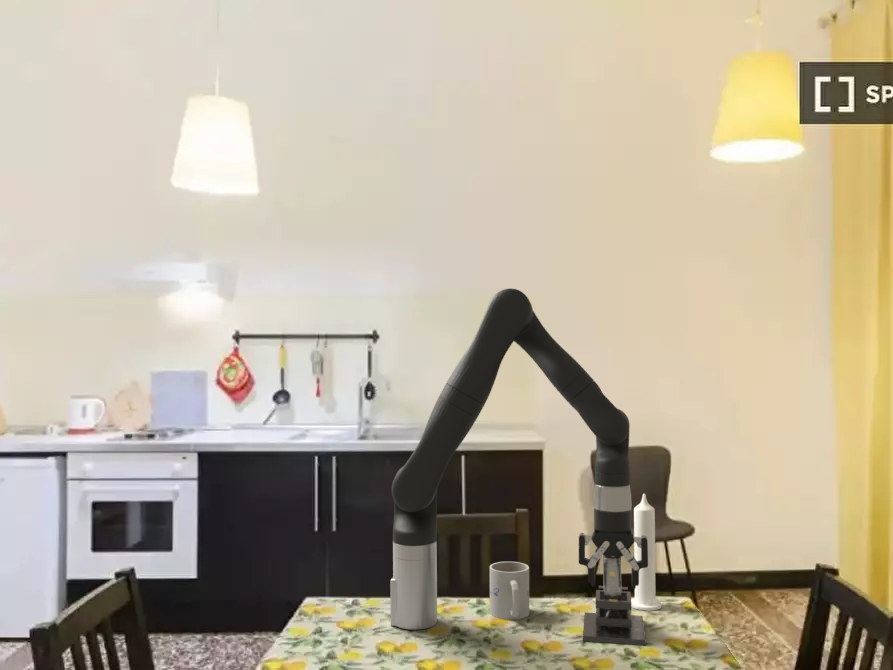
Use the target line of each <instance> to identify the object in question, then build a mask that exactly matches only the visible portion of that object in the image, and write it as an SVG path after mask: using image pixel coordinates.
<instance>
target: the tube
mask: <svg viewBox="0 0 893 670" xmlns="http://www.w3.org/2000/svg"><path fill="white" fill-rule="evenodd" d="M621 559H622V557H615V556H611V557H605V556H604V555H602V570H603V571H602V572H603V577H602V578H603V586H604V600H609V599H617V600H618V601H622V587H623V585H622V560H621ZM604 617H610V618H622V609H605V608H604ZM605 627H608V628H613V629H616V628H621V627H612V626H605Z"/></svg>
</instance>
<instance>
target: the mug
mask: <svg viewBox="0 0 893 670" xmlns="http://www.w3.org/2000/svg"><path fill="white" fill-rule="evenodd" d="M489 614H490V616H492V617H494V618H497V619H499V620H510V621H511V620H521V619H524V618H527V617H529V616H530V567H529V565H528V564H526V563H524V562H519V561H498V562H494V563H492V564H490V565H489Z"/></svg>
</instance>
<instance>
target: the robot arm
mask: <svg viewBox="0 0 893 670" xmlns="http://www.w3.org/2000/svg"><path fill="white" fill-rule="evenodd" d="M514 343H515V344H517V345H518V346H519V347H520V348H521V349H522V350H523V351H525V353H526V354H528V356H529V357H530V358H531V359H532V361H533V362H534V363H535V364H536V365H537V367H538V368H539V369H540V370H541V372H542V373H543V375H545V377H546V378H547V379H548V381H549V382H550V383H551V385H552V386H553V387H554V388H555V389H556V390H557V392H558V393H559V394H560V395H561V396H562V397H563V399H565V401H566V402H567V403H568V404H569V405H570V406H571V407H572V408H573V409H574V410H575V411H576V412H577V413H578V415H579V416H580V417H581V419H582V420H583V422H584V423H585V425H586V426H587V428H589V430H590V431H591V432H592V434H594V436H595V443H596V458H595V464H594V491H593V533H592V534H585V533H583V532H581V533H579V535H578V564H579V565H581V566H585V567H586V568H587V582H588V584H591V587H593V588H594V587H596V567H595V566H596V564H597V563H598V561H599V560H600V559H601V558H602V557H603V556H605V557H611V556H615V557H621V558H622V557H624V558H625V560H626V561H627V562H628V564H629V565H630V566H631V589H634V590H635V589H636V586H638V585H639V570H640V569H641V568H646V567H648V541H647V537H646V536H645V535H643V536H641V537H634V534H633V533H632V532H633V531H632V530H633V529H632V507H633V506H632V504H633V503H632V492H631V478H630V477H631V474H630V473H631V468H630V461H629V459H630V458H629V449H630V447H629V446H630V428H631V427H630V420H629V418H628V416H627V414H626V413H625V412H624V411H623V410H621V409H619V408H617V407H616V406H615V405H614V404H613V403H612V402H611V401H610V399H609V398H608V397H606V395H605V394H604V393H603V392H602V389H601V387H600V386H599V385H598V383H597V382H596V381H595V379H593V378H592V377H591V375H590V374H589V373H588V372H587V371H586V370H585V369H584V367H582V365H581V364H580V363H579V362H577V360H576V359H575V358H574V357H573V356H572V355H570V354H569V353H568V351H566V350H565V349H564V348H563V347H562V346H561V345H560V344H559V343H558V342H557V341H556V340H555V339H554V338H553V337H552V336H551V334H550V333H549V332H548V331H547V329H546V328H545V327H544V325H543V324H542V323H541V321H540V319H539V317H538V316H537V315H536V313H535V312H534V310H533V306H532V303H531V301H530V299H529V297H528V296H527V295H526V294H525V292H522V291H521V290H519V289H517V288H505V289H502V290H500V291H498V292H497V293H495V294H494V295H493V296H492V297H491V299H490V301H489V302H488V305H487V307H486V310H485V312H484V315H483V317H482V320H481V322H480V324H479V327H478V329H477V331H476V333H475V336H474V338H473V340H472V342H471V343H470V345H469V347H468V348H467V350H466V351H465V352H464V354H463V355H462V357H461V359H460V360H459V362H458V363H457V365H456V366H455V368H454V370H453V372H452V373H451V374H450V377H449V378H448V379H447V381H446V383H445V384H444V386H443V388H442V390H441V391H440V394H439V396H438V398H437V400H436V402H435V404H434V406H433V409H432V410H431V413H430V415H429V417H428V420H427V423H426V426H425V428H424V430H423V431H424V432H423V433H422V436H421V438H420V440H419V442H418V444H417V446H416V448H415V449H414V451H413V452H412V453H411V455H410V457H409V458H408V460H407V461H406V463H405V464H404V465H403V466H401V468H399V470H398V471H397V472H396V474H395V476H394V478H393V480H392V483H391V495H392V499H393V523H392V524H393V525H392V563H393V564H392V572H393V573H392V575H393V576H392V578H391V579H390V582H389V583H390V584H389V585H390V586H389V587H390V595H389V596H390V598H389V599H390V626H392V627H393V626H395V627H398V628H400V629H404V630H423V629H424V630H425V629H428V628H429V629H430V628H431V627H434V626H435V625H436V624H437V622H438V583H437V582H438V574H437V573H438V572H437V571H438V570H437V563H438V561H437V559H438V558H437V554H438V553H437V550H438V549H437V548H438V547H437V538H438V537H437V531H438V530H437V529H438V526H437V525H438V516H437V515H438V513H437V512H438V509H437V508H438V503H437V502H438V501H437V500H438V487H439V485H440V482H441V480H442V477H443V476H444V472H445V471H446V468H447V467H448V464H449V463H450V460H451V459H452V457H453V455H454V454H455V453H456V451H457V450H458V448H459V447H460V445H461V444H462V443H463V442H464V440H465V438H466V436H468V434H469V432H470V430H471V429H472V428H473V426H474V424H475V422H476V421H477V419H478V418H479V415H480V414H481V412H482V410H483V408H484V407H485V404H486V403H487V401H488V398H489V396H490V395H491V393H492V389H493V387H494V385H495V381H496V378H497V377H498V373H499V370H500V367H501V365H502V362H503V361H504V358H505V355H506V354H507V352H508V350H509V349H510V348H511V346H512V345H513V344H514ZM591 541H592V543H593V544H594V545H595V547H596V548H595V550H594V551H593V553H592V554H591V556H590V558H587V557H586V547H587V546H588V545H589V544H590V542H591ZM634 542H635V543H637V546H638V547H639V548H641V560H640V561H636V559H635V558H634V555H633V553H632V552H631V550H630V548H631V547H632V546H633V545H634Z"/></svg>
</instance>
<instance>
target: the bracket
mask: <svg viewBox="0 0 893 670" xmlns="http://www.w3.org/2000/svg"><path fill="white" fill-rule="evenodd" d="M628 588H629V587H628V586H622V601H618V600H617V599H609V600H604V585H598V589H596V590H595V612H584V619H583V629H582V641H583V642H592V643H593V642H594V643H608V644H621V645H635V646H636V645H638V646H646V635H645V628H644V627H645V626H644V619H643V617H644V616H643V615H634V614H633V615H632V607H631V599H632V597H631V596H632V594H631V593H632V592H631V591H629V589H628ZM604 608H605V609H622V618H610V617H604ZM605 626H612V627H621V628H616V629H613V628H608V627H605Z"/></svg>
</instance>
